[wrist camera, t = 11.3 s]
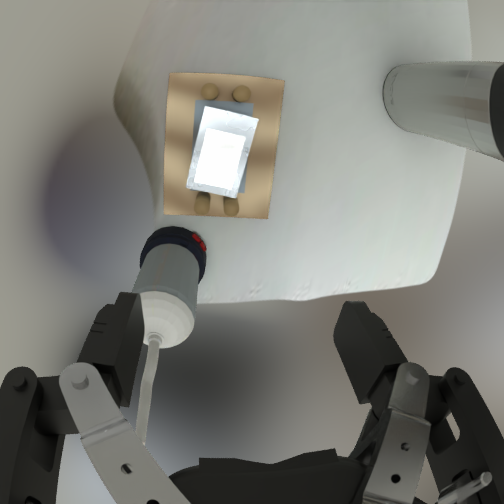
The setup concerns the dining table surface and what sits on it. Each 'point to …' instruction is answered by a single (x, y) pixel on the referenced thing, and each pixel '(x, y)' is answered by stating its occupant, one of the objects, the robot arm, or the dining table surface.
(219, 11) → the dining table surface
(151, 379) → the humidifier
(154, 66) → the dining table surface
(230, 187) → the block
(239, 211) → the wooden peg board
